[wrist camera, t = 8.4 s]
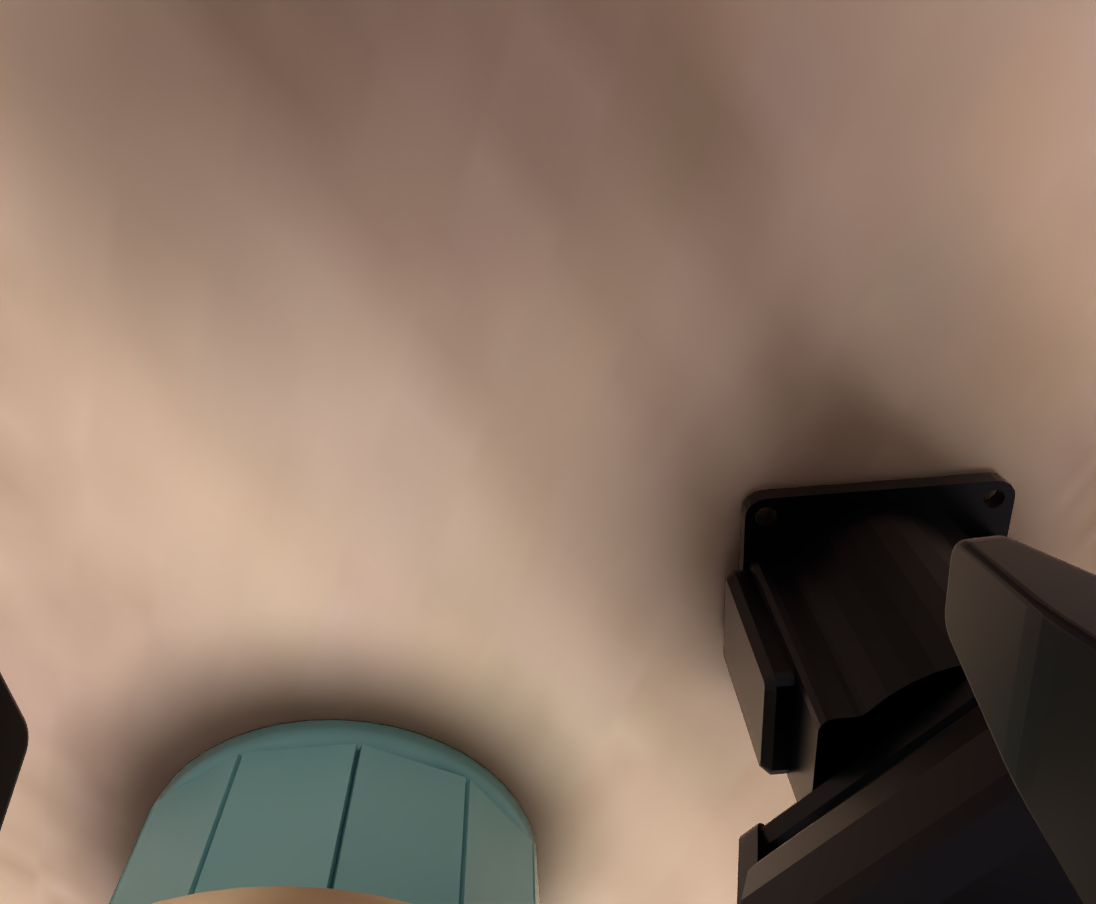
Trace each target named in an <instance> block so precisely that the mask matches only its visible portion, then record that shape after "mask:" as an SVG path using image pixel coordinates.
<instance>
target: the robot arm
mask: <svg viewBox="0 0 1096 904" xmlns="http://www.w3.org/2000/svg"><path fill="white" fill-rule="evenodd" d="M993 490H997V491H996V493H995V495H994V496H992V497H991V498H990V499H986V500H984V497H985V495H986V494H988V493H989V492H990V491H993ZM1014 499H1015V490H1014V489H1013V487H1012V485H1011V484H1010V483H1009V482H1008V481H1007V480H1006V479H1005V478H1004V477H1002V476H1000V475H999V474H996V473H981V474H968V475H955V476H942V477H929V478H916V479H903V480H890V481H877V482H864V483H851V484H837V485H824V486H811V487H798V488H785V489H772V490H761V491H757V492H754V493H753V494H751V495H749V496H748V497H747V498H746V499H745V501H744V502H743V505H742V508H741V528H740V555H739V570H734V571H733V572H732V573H731V574H730V575H729V576H728V577H727V579H726V582H725V617H724V658H725V661H726V664H727V667H728V670H729V673H730V676H731V679H732V682H733V685H734V689H735V692H736V695H737V698H738V701H739V704H740V707H741V710H742V713H743V717H744V720H745V723H746V726H747V729H748V732H749V735H750V738H751V741H752V745H753V748H754V751H755V754H756V757H757V760H758V763H759V766H760V767H762V768H763V769H764V770H765V771H766V772H767V773H769V774H784V773H787V775H788V778H789V781H790V784H791V787H792V789H793V792H794V795H795V798H796V801H797V802H796V803H795V804H794V805H792V806H791V807H789V808H788V809H787V810H785V811H784V812H783V813H781V814H780V815H778V816H777V817H776V818H774V819H773V820H771V821H770V822H769V823H767V824H766V825H764V824H762V823H759V824H757V825H756V826H754V827H753V828H752V829H750V830H749V831H747V832H746V833H745V834H743V835H742V836H741V837H740V839H739V861H738V893H737V904H1096V575H1094V574H1092V573H1089V572H1087V571H1085V570H1082V569H1080V568H1078V567H1075V566H1073V565H1071V564H1068V563H1066V562H1064V561H1062V560H1059V559H1057V558H1055V557H1052V556H1050V555H1048V554H1045V553H1043V552H1041V551H1038V550H1036V549H1034V548H1031V547H1029V546H1027V545H1024V544H1022V543H1020V542H1017V541H1015V540H1013V539H1010V538H1008V537H1007V535H1008V530H1009V524H1010V519H1011V514H1012V509H1013V504H1014ZM765 507H768V508H772V509H771V512H770V513H769V514H768V515H767V516H763V517H757V516H756V513H757V512H758V511H759V510H760V509H762V508H765ZM27 746H28V728H27V724H26V721H25V719H24V717H23V715H22V713H21V711H20V709H19V707H18V705H17V703H16V702H15V700H14V698H13V696H12V694H11V692H10V690H9V688H8V686H7V684H6V682H5V680H4V679H3V677H2V675H1V673H0V830H1V827H2V824H3V821H4V818H5V815H6V812H7V809H8V806H9V803H10V800H11V797H12V794H13V791H14V787H15V784H16V781H17V778H18V775H19V772H20V769H21V766H22V763H23V760H24V757H25V754H26V751H27Z"/></svg>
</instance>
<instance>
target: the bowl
mask: <svg viewBox="0 0 1096 904" xmlns="http://www.w3.org/2000/svg"><path fill="white" fill-rule="evenodd" d="M271 886H295V887H313V888H331V889H338V890H345V891H352V892H359V893H366V894H373V895H377V896H382V897H386V898H390V899H395V900H399V901H403V902H407V903H412V904H540V896H539V887H538V874H537V849H536V844H535V839H534V834H533V831H532V829H531V826H530V824H529V821H528V819H527V816H526V815H525V813H524V811H523V810H522V808H521V806H520V805H519V803H518V802H517V800H516V799H515V797H514V796H513V795H512V794H511V793H510V792H509V790H508V789H507V788H506V787H505V786H504V785H503V783H502V782H500V781H499V780H498V779H497V778H496V777H495V776H494V775H492V774H491V773H490V772H489V771H488V770H487V769H486V768H484V767H483V766H481V765H480V764H478V763H477V762H475V761H474V760H472V759H471V758H469V757H468V756H466V755H465V754H463V753H461V752H459V751H457V750H455V749H453V748H451V747H449V746H447V745H445V744H444V743H441V742H438V741H436V740H433V739H431V738H428V737H426V736H423V735H420V734H418V733H414V732H410V731H407V730H403V729H399V728H395V727H392V726H386V725H380V724H374V723H368V722H359V721H345V720H313V721H301V722H293V723H285V724H279V725H274V726H270V727H266V728H262V729H258V730H254V731H251V732H248V733H245V734H242V735H240V736H237V737H234V738H231V739H229V740H227V741H225V742H223V743H221V744H219V745H217V746H215V747H213V748H211V749H209V750H207V751H205V752H204V753H203V754H201V755H200V756H198V757H197V758H195V759H194V760H192V761H191V762H189V763H188V764H187V765H186V766H185V767H184V768H183V769H182V770H180V771H179V772H178V773H177V774H176V775H175V776H174V777H173V778H172V779H171V780H170V782H169V783H168V784H167V786H166V787H165V788H164V789H163V791H162V792H161V793H160V795H159V797H158V799H157V801H156V802H155V804H154V805H152V808H151V810H150V812H149V814H148V817H147V819H146V821H145V824H144V826H143V828H142V830H141V833H140V835H139V837H138V839H137V842H136V844H135V846H134V848H133V851H132V853H131V855H130V857H129V860H128V862H127V864H126V866H125V869H124V871H123V873H122V876H121V878H120V880H119V882H118V885H117V887H116V889H115V891H114V894H113V896H112V898H111V900H110V903H109V904H152V903H156V902H159V901H163V900H168V899H172V898H177V897H181V896H186V895H190V894H195V893H200V892H208V891H217V890H225V889H233V888H241V887H271Z"/></svg>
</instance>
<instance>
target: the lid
mask: <svg viewBox="0 0 1096 904" xmlns="http://www.w3.org/2000/svg"><path fill="white" fill-rule="evenodd" d="M152 904H412V903H407V902H403V901H399V900H395V899H390V898H386V897H382V896H377V895H373V894H366V893H359V892H352V891H345V890H338V889H331V888H313V887H295V886H271V887H241V888H233V889H225V890H217V891H208V892H200V893H195V894H190V895H186V896H181V897H177V898H172V899H168V900H163V901H159V902H156V903H152Z"/></svg>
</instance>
